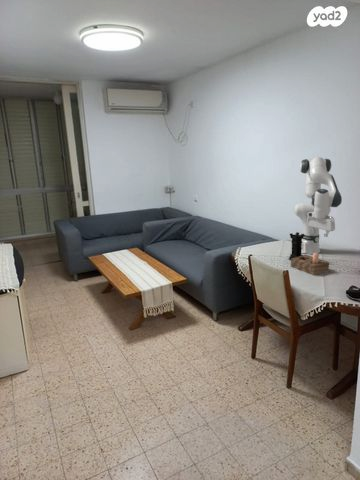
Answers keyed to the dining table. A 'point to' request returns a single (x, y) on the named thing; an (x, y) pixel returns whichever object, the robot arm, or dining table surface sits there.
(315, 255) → the pin
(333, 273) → the dining table surface
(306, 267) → the bore block
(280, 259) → the dining table surface
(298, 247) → the chess piece
